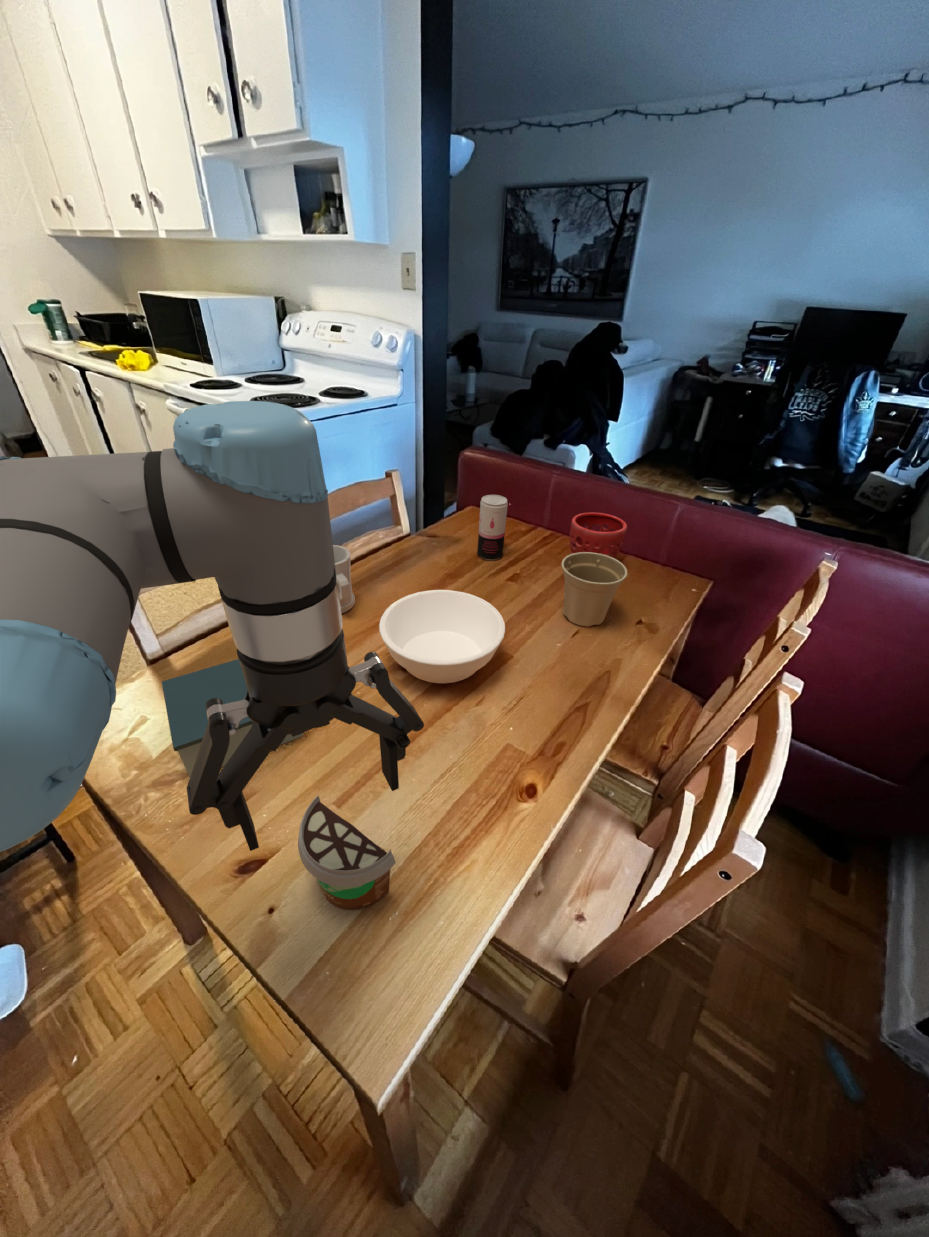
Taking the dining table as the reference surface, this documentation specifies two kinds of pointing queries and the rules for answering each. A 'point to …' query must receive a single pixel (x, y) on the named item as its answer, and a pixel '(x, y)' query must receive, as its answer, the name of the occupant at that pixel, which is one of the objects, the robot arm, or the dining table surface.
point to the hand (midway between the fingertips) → (325, 806)
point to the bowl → (442, 634)
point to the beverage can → (492, 527)
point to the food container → (343, 859)
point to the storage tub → (204, 708)
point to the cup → (343, 577)
